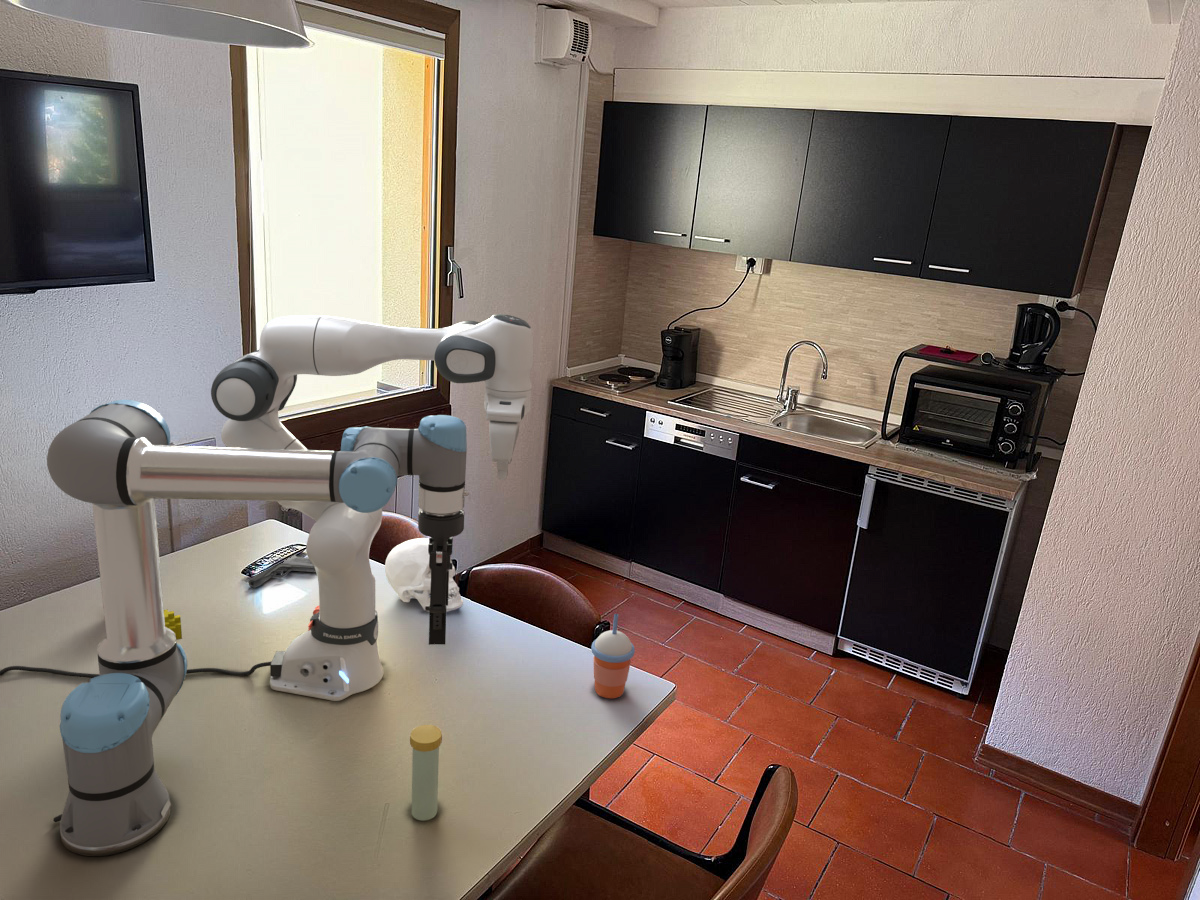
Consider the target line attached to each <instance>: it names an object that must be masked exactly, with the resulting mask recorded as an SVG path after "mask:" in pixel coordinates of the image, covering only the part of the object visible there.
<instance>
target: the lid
mask: <svg viewBox="0 0 1200 900" xmlns="http://www.w3.org/2000/svg"><path fill="white" fill-rule="evenodd" d="M442 742H443V733H442V730H441V729H440V727H438V726H436V725H433V724H421V725H418V726H416V727H414V728H413V729H412V730H411V731H410V736H409V745H410V746H411V748H412V749H413V748H414V749H415V750H417V751H421V752H427V751H432V750H435V749H436V748H438V747H439V748H440V746H441V745H442Z"/></svg>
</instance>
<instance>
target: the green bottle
mask: <svg viewBox="0 0 1200 900" xmlns="http://www.w3.org/2000/svg"><path fill="white" fill-rule="evenodd" d="M411 750H412V753H411V754H412V756H411V757H412V758H411V759H412V760H411V761H412V762H411V816H412V817H413V818H414V819H415V820H418V821H423V822H424V821H429V820H432V819H433V818H435V817H436V815H437V814H438V802H439V801H438V800H439V799H438V798H439V767H440V766H439V763H440V746H439V747H438V748H436V749H435V750H432V751H427V752H421V751H417V750H415V749H414V748H412V749H411Z"/></svg>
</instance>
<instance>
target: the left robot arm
mask: <svg viewBox="0 0 1200 900" xmlns="http://www.w3.org/2000/svg"><path fill="white" fill-rule="evenodd" d="M467 440H468V439H467V426H466V423H465V421H463V419H461V418H459V417H456V416H453V415H449V414H448V415H447V414H437V415H427V416H424V417H422V418H421V420H420V421H419V426H418V428H394V427H393V428H392V427H391V428H389V427H372V426H367V425H366V426H361V427H360V426H359V427H357V426H355V427H348V428H346V429H345V430H344V431H343V434H342V438H341V442H340V445H341V446H340V450H323V449H322V450H321V449H319V450H317V449H308V450H291V449H286V448H285V449H260V448H228V447H226V446H225V447H222V446H195V445H193V446H192V445H191V446H190V445H189V446H188V445H170V444H171V431H170V428H169V425H168V423H167V422H166V420H165V419H164V417H163V416H162V415H161V414H160V412H157V410H155V409H154V408H153V407H151V406H149V405H148V404H146V403H143V402H141V401H137V400H131V399H118V400H113V401H110V402H108V403H104V404H101V405H98V406H97V407H94V408H93V409H92V410H91V411H90V412H89V413H88V414H86V415H85V416H83V417H82V418H80V419H78V420H77V421H75V422H73V423H71V424H69V425H67V426H66V427H64V428H63V429H62V430H61V431H59V433H57V434H56V435H55V437H54V438H53V439H52V441H51V443H50V445H49V447H48V451H47V455H46V466H47V470H48V473H49V476H50V478H51V480H52V481H53V482H54V484H55V485H56V487H57V488H58V489H59V490H61V491H62V492H63V493H64V494H66V495H67V496H69V497H71V498H73V499H75V500H78V501H82V502H84V503H89V504H92V514H93V521H94V522H93V523H94V532H95V541H96V550H97V560H98V569H99V570H98V571H99V578H100V579H99V580H100V589H101V597H102V606H103V615H104V626H105V634H106V636H105V637H104V638H103V639H102V640H101V641H100V642H99V643H98V645H97V648H96V655H97V664H98V672H99V673H98V674H99V676H97V677H94V678H89V682H82V683H80V684H79V685H77V686H76V687H75V688H73V689H72V690H71V691H70V692H69V693H68V695H67V696H66V697H65V699H64V700H63V702H62V705H61V708H60V720H59V721H60V722H59V733H60V737H61V740H62V746H63V753H64V754H63V755H64V762H65V769H66V775H67V782H68V783H67V784H68V790H69V791H68V793H67V797H66V800H65V802H64V803H65V804H64V807H63V811H62V813H61V814H59V815H57V816H55V817H53V822H54V823H58V822H59V834H60V839H61V842H62V845H63V846H64V847H65V848H66V849H67V850H68V851H70V852H72V853H74V854H77V855H81V856H86V857H103V856H109V855H114V854H119V853H121V852H122V853H123V852H126V851H128V850H130V849H133V848H135V847H138V846H140V845H142V844H143V843H145V842H147V841H148V840H150V839H151V838H153V837H154V836H155V835H156V834H157V833H159V831H160V830H162V828H163V827H164V826H165V824H166V823H167V821H168V820H169V818H170V815H171V812H172V807H171V805H172V804H171V797H170V793H169V792H168V789H167V788H166V786H165V785H164V782H163V780H162V778H161V777H160V775H159V774H158V773H157V770H156V768H155V761H154V751H153V749H154V748H153V736H154V732H155V731H156V729H157V728H158V726H159V724H160V723H161V721H162V719H163V717H164V715H165V714H166V712H167V710H169V707H170V705H171V704H172V702H173V700H174V699H175V697H176V696H177V695H178V693H179V692H180V690H181V689H182V687H183V685H184V681H185V679H186V675H187V674H186V672H187V670H188V657H187V654H186V652H185V649H184V648H183V646H182V645H181V644H180V643H178V642H177V640H176V636H175V633H174V632H173V631H172V630H170V629H168V628H166V627H165V620H164V610H165V609H164V597H163V586H162V573H161V572H162V571H161V562H160V561H161V560H160V548H159V547H160V546H159V537H158V535H159V534H158V525H157V513H156V512H157V511H156V501H155V499H159V500H162V499H163V500H202V501H203V500H207V501H208V500H209V501H210V500H211V501H252V502H253V501H254V502H255V501H257V502H258V501H260V502H277V501H300V502H342V503H345V504H346V505H347V506H348V507H350V508H351V509H353V510H355V511H357V512H361V513H370V512H375V511H377V510H379V509H381V508H382V509H383V508H384V507H385V506H386V505H387V504H388V503H389V501H390V500H391V498H392V496H393V495H394V493H395V491H396V487H397V485H398V476H418V484H417V485H418V490H417V491H418V493H417V495H418V496H417V500H418V501H417V507H418V508H419V509H418V511H417V512H418V513H417V514H418V515H417V517H418V518H417V519H418V520H417V529H418V531H419V533H420V534H421V535H423V536H425V537H429V538H428V539H429V545H428V553H429V555H430V556H429V569H430V570H431V590H430V595H429V597H430V606H425V610H424V612H425V611H426V612H427V611H429V612H428V613H429V615H428V645H429V646H430V645H433V646H437V645H441V646H442V645H443V646H445V645H446V634H447V612H446V605H448V599H449V598H448V587H449V571H448V570H449V569H452V567H453V566H454V564H453V562H452V563H450V558H451V556H452V555H453V546H454V545H453V543H454V537H457V536H459V535H461V534H462V533H463V532H464V530H465V510H464V508H465V497H468V496H469V495H470V492H469V490H467V489H466V473H467V472H466V470H467V452H468V451H467V450H468V446H467V444H468V441H467Z"/></svg>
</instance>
